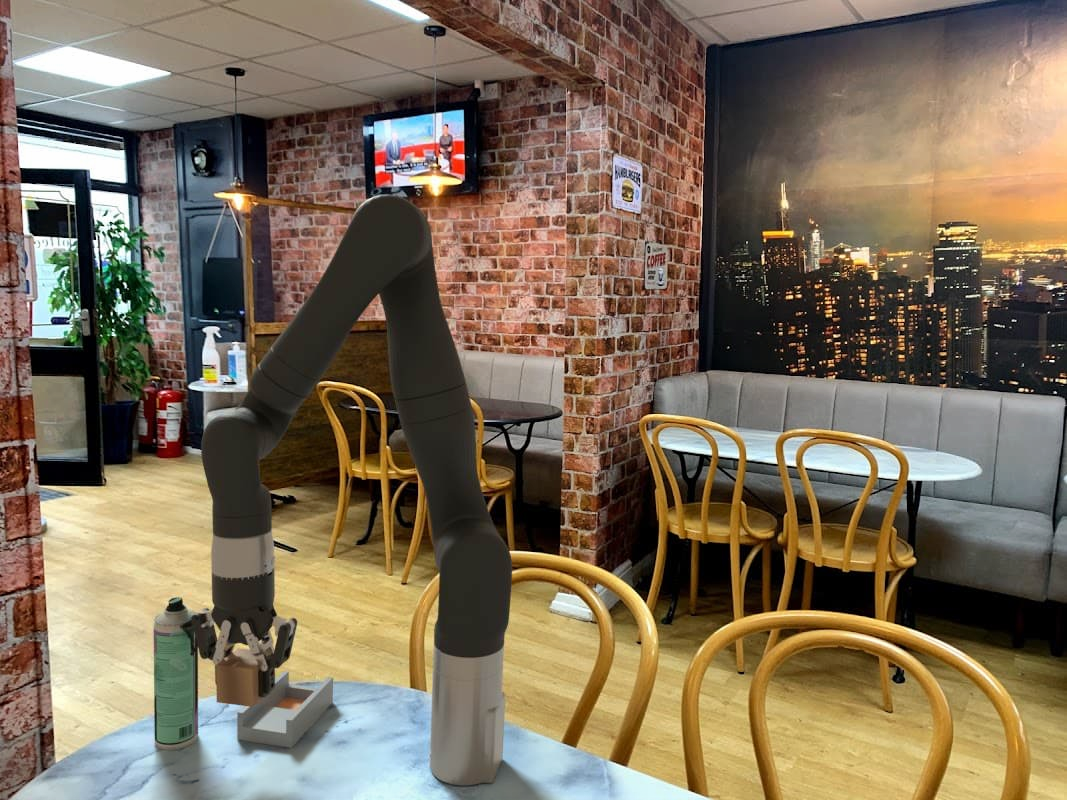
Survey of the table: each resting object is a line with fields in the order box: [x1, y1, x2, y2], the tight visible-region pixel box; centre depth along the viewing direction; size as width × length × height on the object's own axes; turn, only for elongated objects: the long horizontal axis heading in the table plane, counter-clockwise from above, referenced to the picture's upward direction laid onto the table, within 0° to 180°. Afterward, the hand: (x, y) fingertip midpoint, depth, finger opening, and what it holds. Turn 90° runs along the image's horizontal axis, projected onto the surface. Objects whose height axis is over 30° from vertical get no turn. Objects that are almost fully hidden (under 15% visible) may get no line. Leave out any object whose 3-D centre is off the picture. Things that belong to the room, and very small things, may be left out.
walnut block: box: [215, 647, 262, 707], centre depth 101 cm, size 5×5×5 cm
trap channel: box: [236, 670, 334, 749], centre depth 114 cm, size 8×13×4 cm, turn 169°
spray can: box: [153, 596, 199, 751], centre depth 107 cm, size 6×6×20 cm
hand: (245, 691), depth 102 cm, fingers closed on walnut block, 5 cm apart
